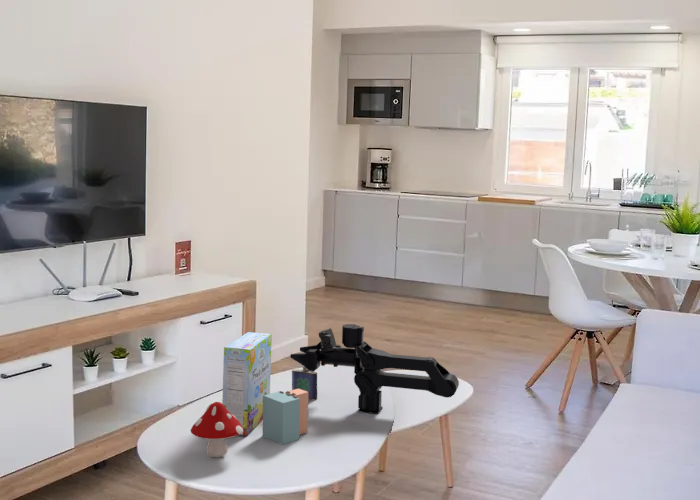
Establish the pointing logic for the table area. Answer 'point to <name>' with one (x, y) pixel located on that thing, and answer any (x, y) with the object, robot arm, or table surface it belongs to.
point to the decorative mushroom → (217, 428)
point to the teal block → (281, 417)
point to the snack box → (247, 378)
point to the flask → (305, 381)
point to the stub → (301, 408)
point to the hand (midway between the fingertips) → (295, 352)
